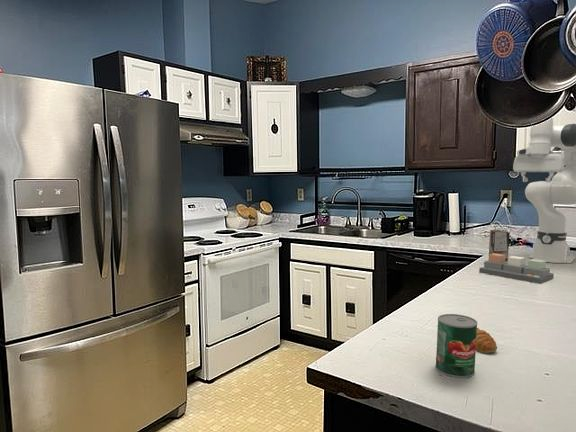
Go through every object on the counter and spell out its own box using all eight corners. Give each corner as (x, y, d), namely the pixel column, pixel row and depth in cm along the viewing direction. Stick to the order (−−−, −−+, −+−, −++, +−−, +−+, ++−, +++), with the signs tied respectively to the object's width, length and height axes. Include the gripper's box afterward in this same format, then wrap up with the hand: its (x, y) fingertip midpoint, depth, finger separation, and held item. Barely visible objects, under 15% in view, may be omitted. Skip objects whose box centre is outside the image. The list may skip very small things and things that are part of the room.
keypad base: (494, 268, 194) (494, 258, 193) (553, 278, 175) (554, 267, 175) (479, 272, 185) (479, 262, 184) (540, 283, 166) (540, 272, 166)
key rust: (493, 261, 189) (494, 253, 189) (504, 262, 185) (505, 254, 185) (488, 262, 186) (488, 254, 186) (499, 264, 182) (500, 256, 182)
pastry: (505, 354, 101) (505, 338, 101) (478, 356, 100) (479, 340, 100) (481, 339, 110) (481, 324, 110) (456, 340, 109) (457, 326, 109)
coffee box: (508, 267, 195) (510, 232, 194) (492, 266, 196) (494, 231, 195) (502, 263, 204) (504, 229, 202) (487, 262, 205) (489, 229, 204)
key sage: (532, 267, 177) (533, 258, 176) (545, 269, 173) (546, 260, 173) (528, 268, 174) (528, 260, 173) (540, 270, 170) (541, 262, 170)
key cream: (512, 264, 183) (513, 255, 183) (524, 265, 179) (525, 257, 179) (507, 265, 180) (508, 257, 179) (519, 267, 176) (520, 259, 176)
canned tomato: (461, 381, 87) (463, 329, 86) (428, 367, 93) (430, 318, 92) (482, 371, 92) (485, 321, 91) (449, 358, 98) (451, 311, 97)
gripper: (568, 151, 187) (564, 183, 188) (518, 153, 203) (515, 182, 203) (563, 149, 183) (559, 181, 184) (513, 151, 199) (510, 181, 199)
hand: (536, 182), depth 194 cm, fingers open, 8 cm apart
